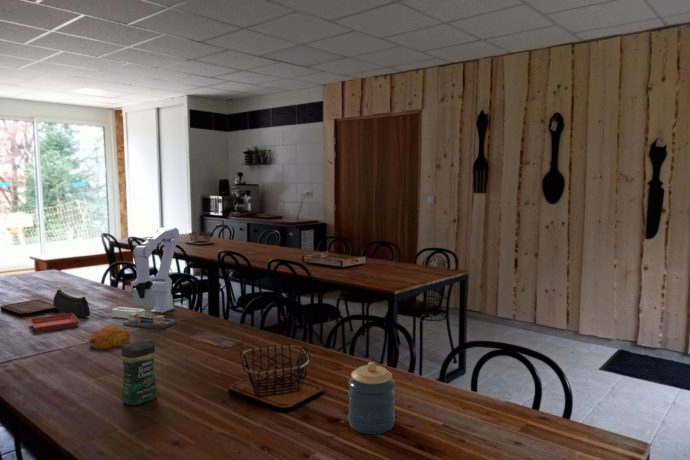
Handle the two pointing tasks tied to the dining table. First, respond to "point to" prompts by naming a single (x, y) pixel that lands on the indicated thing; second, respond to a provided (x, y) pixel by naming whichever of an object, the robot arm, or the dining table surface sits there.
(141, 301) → the chamfered blue-grey beam
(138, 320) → the birch offcut stack
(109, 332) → the croissant
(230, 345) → the wooden tablet
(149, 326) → the rack
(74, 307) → the magazine
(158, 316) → the birch offcut
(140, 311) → the holder
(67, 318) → the plant saucer
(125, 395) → the coffee jar
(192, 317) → the dining table surface
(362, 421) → the canister
